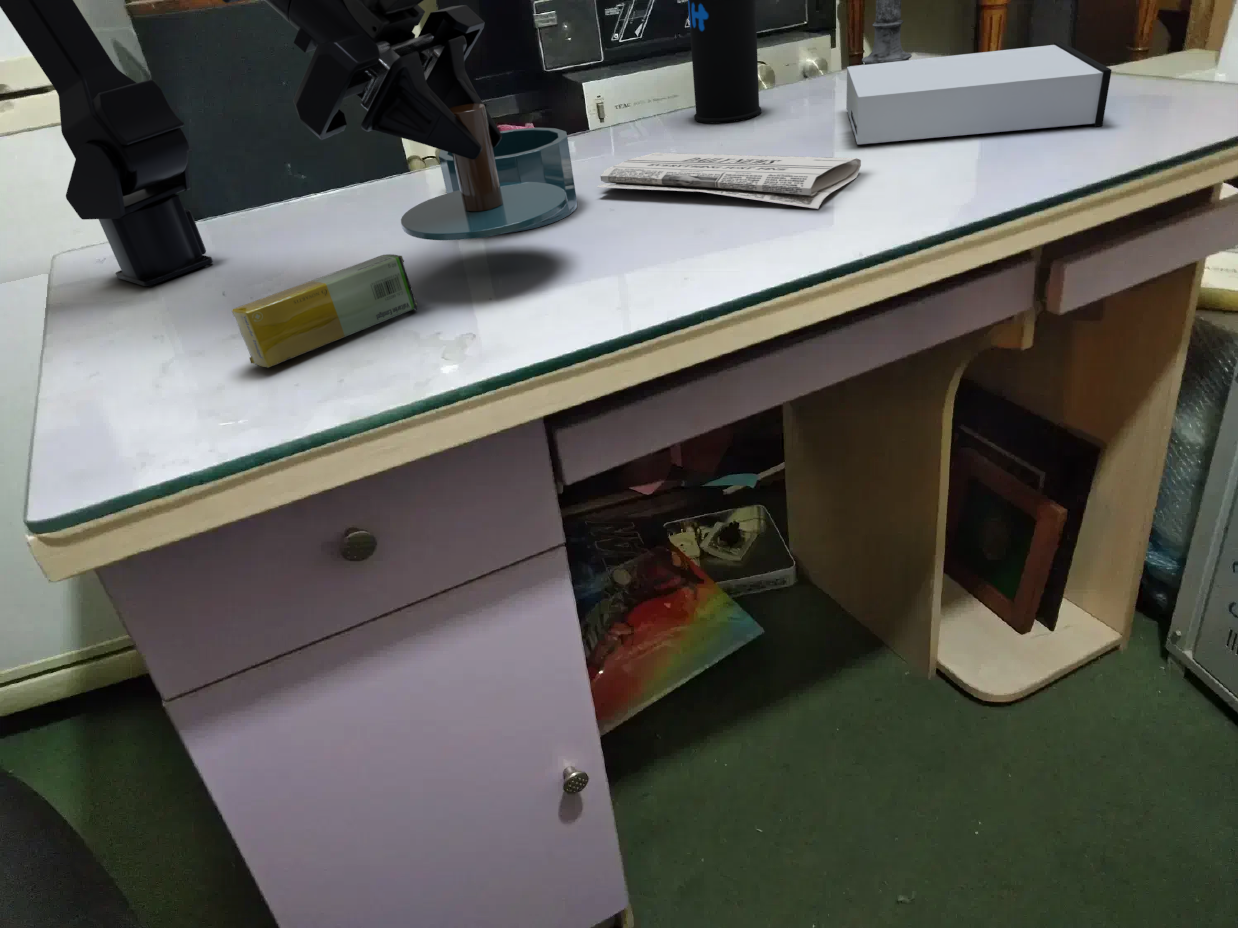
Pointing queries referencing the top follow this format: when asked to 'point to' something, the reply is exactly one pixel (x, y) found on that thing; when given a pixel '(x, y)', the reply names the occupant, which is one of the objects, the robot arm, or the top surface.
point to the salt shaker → (887, 34)
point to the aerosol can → (724, 59)
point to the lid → (482, 195)
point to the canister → (527, 164)
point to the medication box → (324, 309)
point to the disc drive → (976, 94)
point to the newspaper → (737, 176)
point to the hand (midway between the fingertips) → (488, 148)
